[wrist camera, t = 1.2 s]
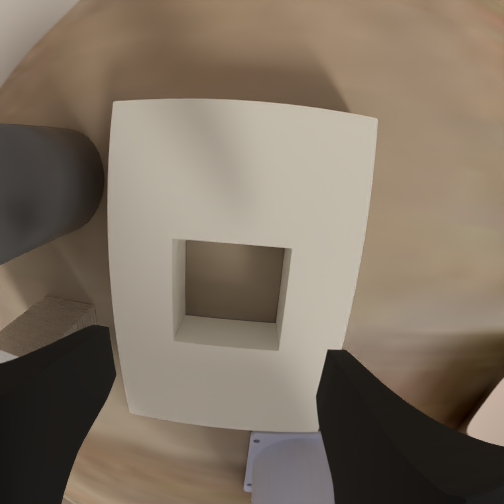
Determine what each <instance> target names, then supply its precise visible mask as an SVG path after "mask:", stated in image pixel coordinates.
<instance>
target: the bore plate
mask: <svg viewBox="0 0 504 504" xmlns="http://www.w3.org/2000/svg"><path fill="white" fill-rule="evenodd" d="M377 122H378V119H377V118H372V117H367V116H362V115H357V114H352V113H346V112H340V111H334V110H328V109H321V108H314V107H307V106H299V105H290V104H281V103H271V102H259V101H245V100H226V99H146V100H128V101H114V102H113V109H112V119H111V131H110V144H109V162H108V202H107V211H108V251H109V269H110V283H111V295H112V305H113V315H114V323H115V331H116V339H117V346H118V353H119V359H120V365H121V371H122V377H123V382H124V388H125V393H126V398H127V403H128V407H129V412H130V413H131V414H136V415H141V416H145V417H150V418H156V419H161V420H167V421H173V422H179V423H186V424H193V425H200V426H208V427H217V428H227V429H238V430H252V431H272V432H318V429H319V423H318V415H317V405H316V394H317V390H318V386H319V382H320V378H321V374H322V370H323V366H324V362H325V358H326V354H327V349H331V350H342V346H343V342H344V338H345V334H346V329H347V325H348V321H349V316H350V312H351V307H352V303H353V298H354V293H355V288H356V283H357V278H358V273H359V267H360V262H361V256H362V251H363V245H364V238H365V232H366V226H367V219H368V212H369V204H370V196H371V188H372V180H373V170H374V160H375V149H376V137H377ZM186 240H196V241H209V242H221V243H233V244H245V245H257V246H269V247H281V248H285V252H284V261H283V269H282V278H281V286H280V294H279V302H278V310H277V318H276V323H266V322H253V321H241V320H229V319H219V318H209V317H199V316H190V315H185V264H186Z"/></svg>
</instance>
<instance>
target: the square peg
mask: <svg viewBox="0 0 504 504" xmlns="http://www.w3.org/2000/svg"><path fill="white" fill-rule="evenodd" d="M93 324H94V325H97V318H96V310H95V305H93V304H87V303H82V302H76V301H71V300H65V299H60V298H55V297H50V296H46V297H44V298H43V299H41V300H40V301H39V302H37V303H36V304H35V305H33V306H32V307H31V308H29V309H28V310H27V311H25V312H24V313H23V314H22V315H20V316H19V317H18V318H16V319H15V320H14V321H12V322H11V323H10V324H9V325H7V326H6V327H5V328H4V329H2V330H1V331H0V363H3V362H6V361H10V360H13V359H15V358H18V357H21V356H23V355H26V354H28V353H30V352H33V351H35V350H37V349H40V348H42V347H44V346H47V345H49V344H51V343H53V342H55V341H57V340H59V339H61V338H64V337H66V336H68V335H70V334H72V333H74V332H76V331H78V330H81V329H83V328H85V327H88V326H90V325H93Z"/></svg>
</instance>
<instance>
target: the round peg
mask: <svg viewBox="0 0 504 504" xmlns="http://www.w3.org/2000/svg"><path fill="white" fill-rule="evenodd" d="M103 188H104V171H103V165H102V161H101V158H100V155H99V152H98V151H97V149H96V147H95V145H94V144H93V143H92V141H91V140H90V139H89V138H88V137H86V136H85V135H84V134H82V133H80V132H78V131H76V130H71V129H63V128H53V127H43V126H31V125H17V124H0V265H1V264H4V263H5V262H7V261H9V260H11V259H13V258H16V257H18V256H20V255H22V254H24V253H26V252H28V251H30V250H32V249H34V248H36V247H38V246H41V245H43V244H45V243H47V242H49V241H51V240H54V239H56V238H58V237H60V236H62V235H65V234H67V233H69V232H72V231H74V230H76V229H78V228H80V227H82V226H83V225H84V224H86V223H87V222H88V221H89V220H90V219H91V217H92V216H93V215H94V213H95V212H96V210H97V208H98V206H99V203H100V201H101V197H102V193H103Z"/></svg>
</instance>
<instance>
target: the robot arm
mask: <svg viewBox="0 0 504 504" xmlns="http://www.w3.org/2000/svg"><path fill="white" fill-rule="evenodd" d="M115 377H116V370H115V365H114V359H113V353H112V347H111V340H110V333H109V327H104V326H99V325H94V324H93V325H90V326H88V327H85V328H83V329H81V330H78V331H76V332H74V333H72V334H70V335H68V336H66V337H64V338H61V339H59V340H57V341H55V342H53V343H51V344H49V345H47V346H44V347H42V348H40V349H37V350H35V351H33V352H30V353H28V354H26V355H23V356H21V357H18V358H15V359H13V360H10V361H6V362H3V363H0V504H61V503H62V499H63V495H64V491H65V488H66V485H67V481H68V478H69V475H70V472H71V469H72V466H73V464H74V461H75V458H76V456H77V453H78V451H79V449H80V447H81V445H82V443H83V441H84V439H85V437H86V435H87V434H88V432H89V430H90V428H91V426H92V425H93V423H94V421H95V419H96V418H97V416H98V414H99V412H100V411H101V409H102V407H103V405H104V403H105V402H106V400H107V398H108V395H109V393H110V391H111V388H112V385H113V383H114V380H115ZM316 405H317V415H318V423H319V427H320V431H318V432H272V431H253V432H251V436H250V444H249V451H248V459H247V466H246V473H245V481H244V491H246V492H252V493H251V504H504V447H503V446H499V445H495V444H491V443H488V442H484V441H481V440H479V439H476V438H473V437H470V436H468V435H465V434H463V433H460V432H458V431H456V430H454V429H452V428H449V427H447V426H445V425H443V424H441V423H439V422H438V421H436V420H434V419H432V418H430V417H429V416H427V415H426V414H424V413H422V412H421V411H419V410H417V409H416V408H414V407H413V406H411V405H410V404H409V403H407V402H406V401H405V400H403V399H402V398H401V397H399V396H398V395H397V394H395V393H394V392H393V391H392V390H390V389H389V388H388V387H387V386H386V385H384V384H383V383H382V382H381V381H380V380H379V379H377V378H376V377H375V376H374V375H373V374H372V373H371V372H370V371H369V370H367V369H366V368H365V367H364V366H363V365H362V364H361V363H360V362H359V361H358V360H357V359H356V358H354V357H353V356H352V355H351V354H350V353H349V352H348V351H346V350H331V349H327V354H326V358H325V362H324V366H323V370H322V374H321V378H320V382H319V386H318V390H317V394H316ZM255 439H258V440H255Z"/></svg>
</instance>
